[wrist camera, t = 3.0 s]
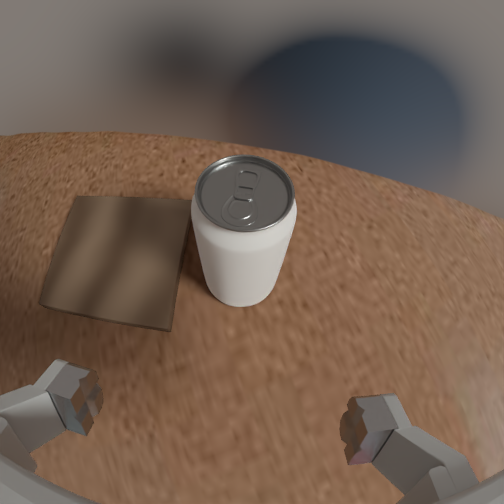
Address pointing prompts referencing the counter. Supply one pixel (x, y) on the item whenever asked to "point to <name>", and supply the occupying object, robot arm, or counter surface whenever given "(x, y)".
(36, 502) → the robot arm
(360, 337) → the counter surface
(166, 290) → the walnut board
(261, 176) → the can
